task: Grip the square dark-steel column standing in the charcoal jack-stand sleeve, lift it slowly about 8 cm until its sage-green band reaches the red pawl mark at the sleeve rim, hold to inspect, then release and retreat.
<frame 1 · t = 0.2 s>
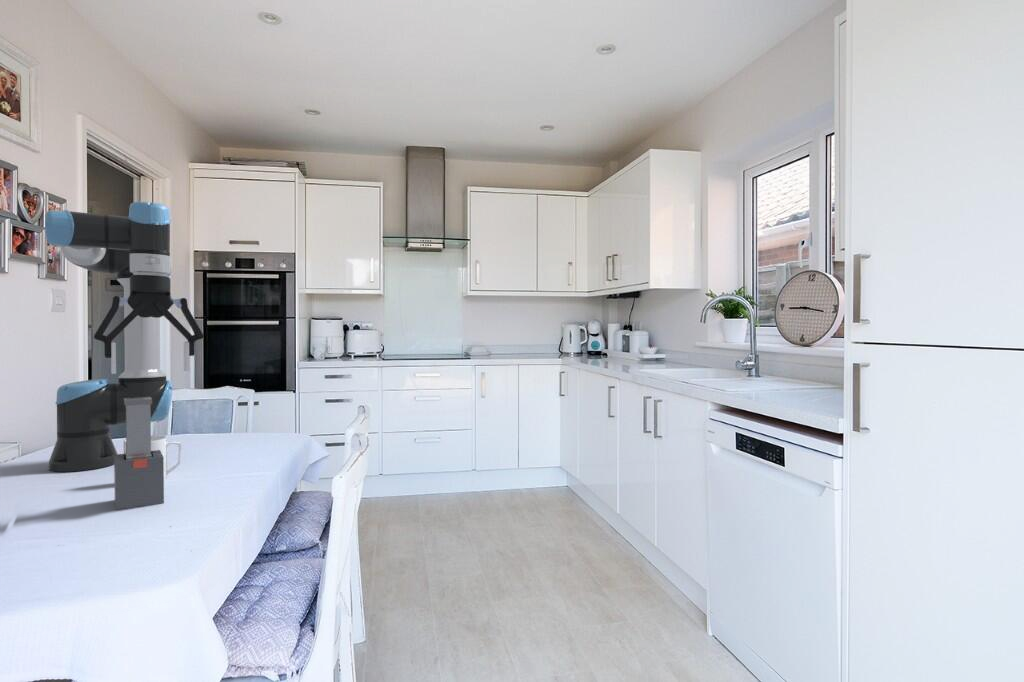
hand: (151, 372, 126), 29 cm above the table, fingers open, 13 cm apart
column: (138, 450, 122), point 12 cm above the table, slide at 0.0 cm
mug: (153, 483, 141), on the table
stand: (139, 507, 123), on the table
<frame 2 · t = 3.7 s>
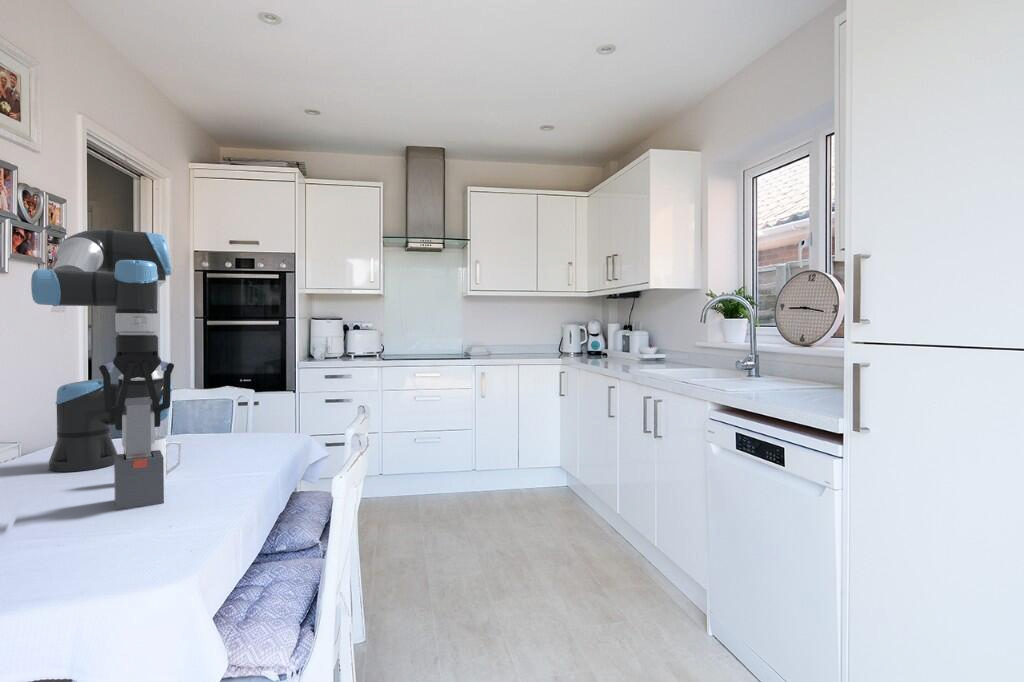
hand: (138, 443, 122), 14 cm above the table, fingers closed on column, 4 cm apart
column: (138, 450, 122), point 12 cm above the table, slide at 0.0 cm, touching gripper
everything else where it was.
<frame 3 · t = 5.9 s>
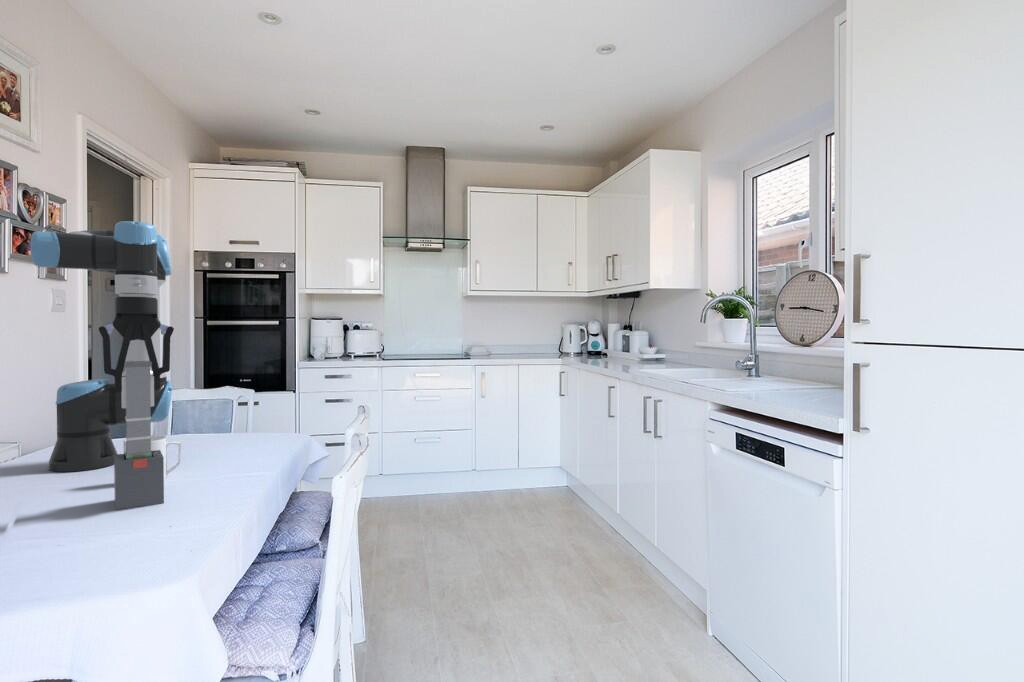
hand: (138, 406, 122), 22 cm above the table, fingers closed on column, 4 cm apart
column: (138, 413, 122), point 20 cm above the table, slide at 7.9 cm, touching gripper
everything else where it was.
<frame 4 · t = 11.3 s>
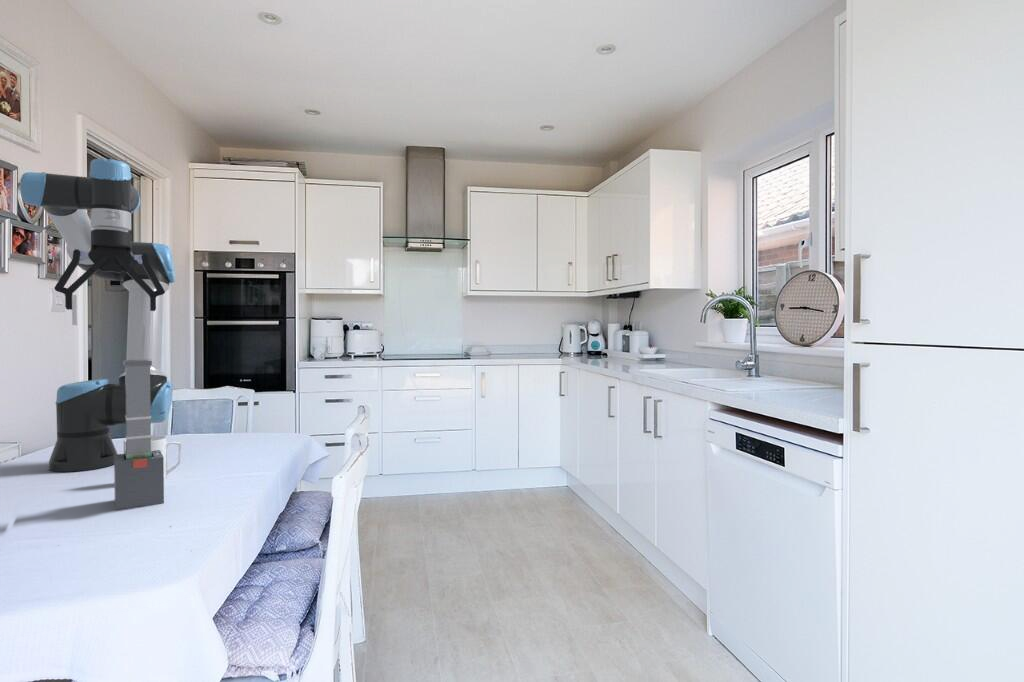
hand: (112, 325, 130), 39 cm above the table, fingers open, 13 cm apart
column: (138, 412, 122), point 20 cm above the table, slide at 8.2 cm
everything else where it was.
at the end: column slide at 8.2 cm; the gripper is holding nothing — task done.
